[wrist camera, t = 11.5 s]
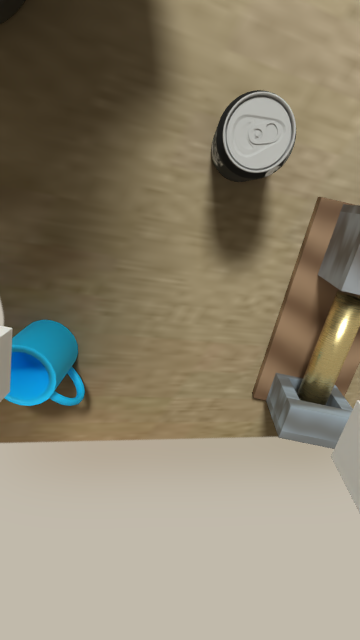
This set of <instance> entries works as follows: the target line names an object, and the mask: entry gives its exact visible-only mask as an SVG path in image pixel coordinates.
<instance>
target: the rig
mask: <svg viewBox="0 0 360 640" xmlns="http://www.w3.org/2000/svg"><path fill="white" fill-rule="evenodd" d="M337 291H344V292H349V293H353V294H357V295H360V206H358V205H353V204H349V203H345V202H340V201H336V200H332V199H327V198H323V197H318V199H317V202H316V205H315V208H314V211H313V214H312V217H311V220H310V223H309V226H308V229H307V232H306V235H305V238H304V241H303V244H302V247H301V250H300V252H299V255H298V258H297V261H296V264H295V267H294V270H293V273H292V276H291V279H290V282H289V285H288V288H287V291H286V294H285V297H284V300H283V303H282V306H281V309H280V312H279V315H278V318H277V321H276V324H275V327H274V330H273V333H272V336H271V339H270V342H269V345H268V348H267V351H266V354H265V357H264V360H263V363H262V366H261V368H260V371H259V374H258V377H257V380H256V383H255V386H254V389H253V392H252V394H253V397H254V398H258V399H262V400H266V402H267V404H268V407H269V410H270V413H271V416H272V419H273V422H274V425H275V428H276V431H277V434H278V437H279V438H284V439H289V440H294V441H298V442H303V443H308V444H313V445H318V446H323V447H328V448H333V449H335V447H336V445H337V442H338V440H339V438H340V436H341V434H342V432H343V430H344V427H345V425H346V423H347V421H348V419H349V417H350V415H351V412H352V410H353V409H352V407H351V406H350V404H349V403H348V402H347V400H346V399H345V398H344V396H345V394H346V392H347V389H348V387H349V385H350V383H351V381H352V378H353V376H354V374H355V372H356V369H357V367H358V365H359V363H360V327H359V329H358V331H357V334H356V336H355V338H354V341H353V343H352V345H351V348H350V350H349V352H348V355H347V357H346V359H345V362H344V364H343V366H342V369H341V371H340V373H339V376H338V378H337V380H336V382H335V385H334V387H333V389H332V392H331V394H330V396H329V399H328V401H327V403H326V405H321V404H316V403H311V402H306V401H302V400H300V399H299V397H298V395H297V393H298V390H299V388H300V385H301V382H302V380H303V377H304V375H305V372H306V370H307V367H308V365H309V362H310V359H311V357H312V354H313V352H314V349H315V347H316V344H317V341H318V339H319V336H320V334H321V331H322V329H323V326H324V324H325V321H326V318H327V316H328V313H329V311H330V308H331V306H332V303H333V301H334V298H335V295H336V293H337Z"/></svg>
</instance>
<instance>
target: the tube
mask: <svg viewBox="0 0 360 640" xmlns="http://www.w3.org/2000/svg"><path fill="white" fill-rule="evenodd" d="M359 327H360V295H357V294H353V293H349V292H344V291H337V293H336V295H335V298H334V301H333V303H332V306H331V308H330V311H329V313H328V316H327V318H326V321H325V324H324V326H323V329H322V331H321V334H320V336H319V339H318V341H317V344H316V347H315V349H314V352H313V354H312V357H311V359H310V362H309V365H308V367H307V370H306V372H305V375H304V377H303V380H302V382H301V385H300V388H299V390H298V393H297V395H298V397H299V399H300V400H302V401H306V402H311V403H316V404H321V405H326V403H327V401H328V399H329V396H330V394H331V392H332V389H333V387H334V385H335V382H336V380H337V378H338V376H339V373H340V371H341V369H342V366H343V364H344V362H345V359H346V357H347V355H348V352H349V350H350V348H351V345H352V343H353V341H354V338H355V336H356V334H357V331H358V329H359Z"/></svg>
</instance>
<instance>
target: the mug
mask: <svg viewBox="0 0 360 640" xmlns="http://www.w3.org/2000/svg"><path fill="white" fill-rule="evenodd" d="M77 355H78V344H77V342H76V339H75V337H74V335H73V334H72V333H71V332H70V331H69V329H67V328H66V327H65V326H63V325H62V324H60V323H58V322H55V321H52V320H39V321H35V322H33V323H31V324H30V325H28V326H27V327H25V328H24V329H23V330H22V331H20V332H19V333H18V334H17V335H16V336H14V337H13V338H12V352H11V376H10V392H9V393H8V394H7V395H6V396H5V397H4V398H5V399H7V400H8V401H10V402H12V403H15V404H18V405H25V406H32V405H37V404H41V403H43V402H44V401H46V400H48V399H49V398H50V399H51V400H53V401H55V402H57V403H59V404H61V405H67V406H73V405H77V404H79V403H80V402H81V401H82V400H83V398H84V394H85V389H84V384H83V382H82V380H81V378H80V376H79V375H78V373H77V372H76V370H75V369H74V368H73V367H72V365H73V364H74V362H75V361H76V358H77ZM66 374H68V375H69V376H70V378H71V379H72V381H73V382H74V384H75V387H76V391H77V395H76V397H75V398H68V397H65V396H63V395H61V394H58V393H57V392H56V391H55V390H56V388H57V387H58V385H59V384H60V383H61V381H62V380H63V378H64V377H65V375H66Z"/></svg>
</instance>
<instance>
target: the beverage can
mask: <svg viewBox="0 0 360 640" xmlns="http://www.w3.org/2000/svg"><path fill="white" fill-rule="evenodd" d="M295 138H296V124H295V118H294V115H293V112H292V110H291V108H290V107H289V105H288V104H287V103H286V102H285V101H284V100H283V99H282V98H281V97H279V96H278V95H276V94H274V93H271V92H268V91H260V90H257V91H251V92H247V93H245V94H243V95H241V96H239V97H238V98H236V99H235V100H234V101H232V102H231V103H230V105H229V106H228V107H227V108H226V110H225V111H224V113H223V114H222V116H221V119H220V121H219V124H218V127H217V130H216V132H215V135H214V138H213V141H212V148H211V153H212V159H213V163H214V165H215V167H216V169H217V170H218V171H219V173H220V174H221V175H223V176H224V177H225V178H227V179H229V180H232V181H236V182H243V181H249V180H254V179H259V178H263V177H266V176H269V175H271V174H273V173H274V172H276V171H277V170H278V169H279V168H281V167H282V166H283V164H284V163H285V162H286V161H287V159H288V158H289V156H290V154H291V152H292V150H293V147H294V143H295Z"/></svg>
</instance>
